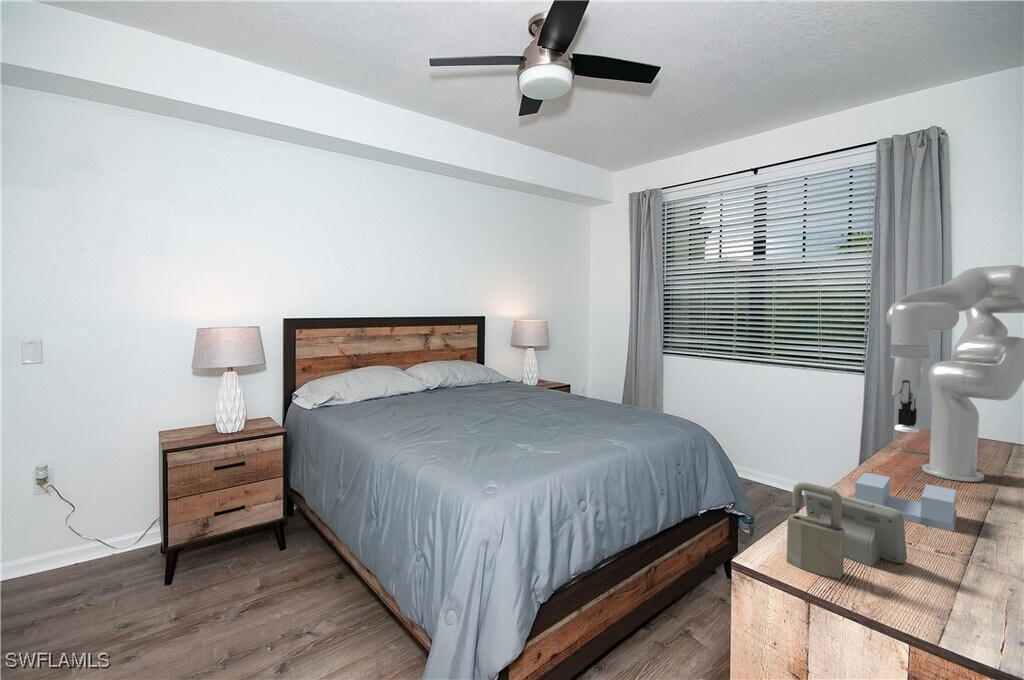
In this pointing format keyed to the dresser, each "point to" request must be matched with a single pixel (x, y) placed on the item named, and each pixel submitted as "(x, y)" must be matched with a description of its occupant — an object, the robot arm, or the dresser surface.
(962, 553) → the dresser surface
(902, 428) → the chess piece
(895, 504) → the slot block
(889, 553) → the digital clock
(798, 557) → the padlock
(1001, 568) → the dresser surface
